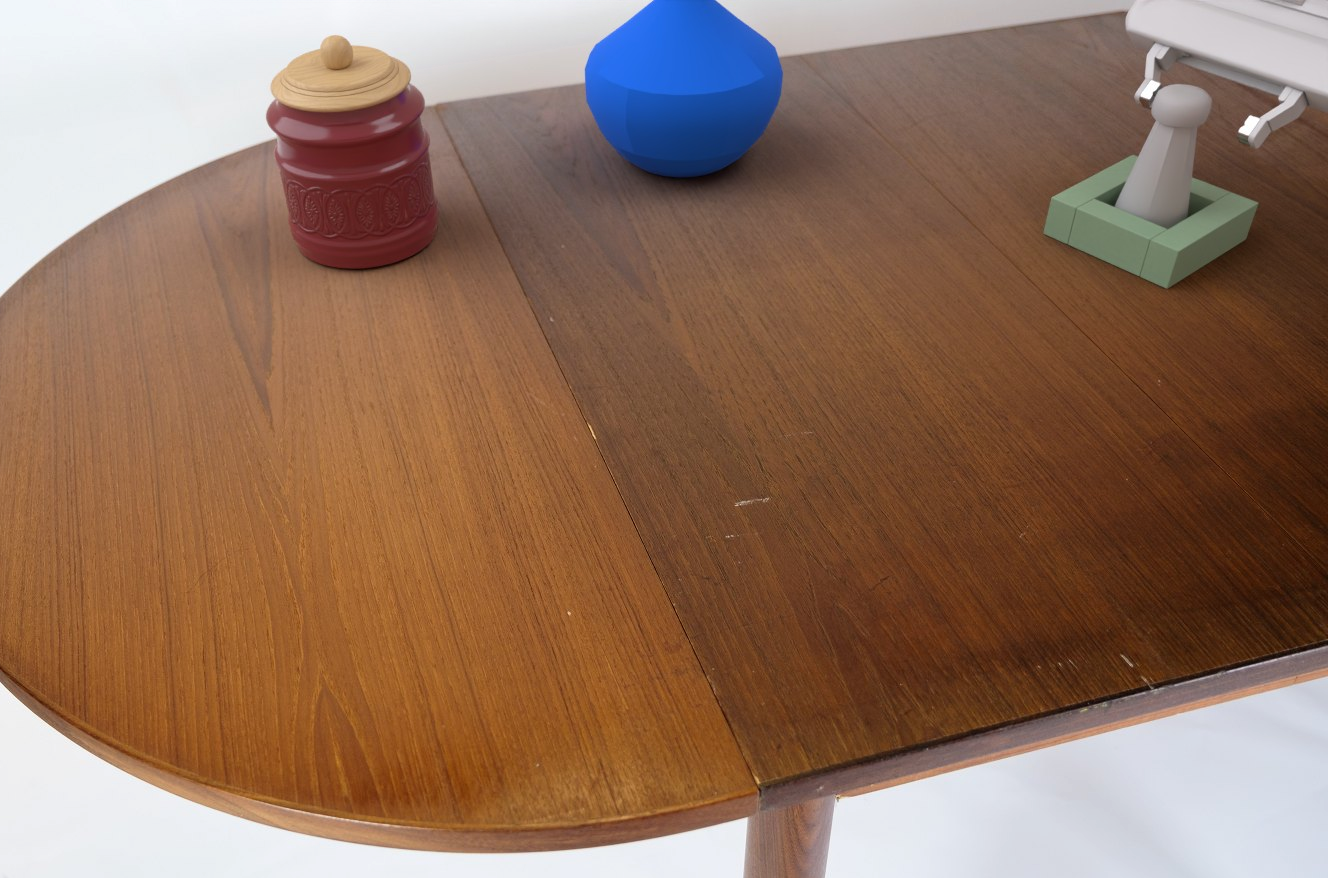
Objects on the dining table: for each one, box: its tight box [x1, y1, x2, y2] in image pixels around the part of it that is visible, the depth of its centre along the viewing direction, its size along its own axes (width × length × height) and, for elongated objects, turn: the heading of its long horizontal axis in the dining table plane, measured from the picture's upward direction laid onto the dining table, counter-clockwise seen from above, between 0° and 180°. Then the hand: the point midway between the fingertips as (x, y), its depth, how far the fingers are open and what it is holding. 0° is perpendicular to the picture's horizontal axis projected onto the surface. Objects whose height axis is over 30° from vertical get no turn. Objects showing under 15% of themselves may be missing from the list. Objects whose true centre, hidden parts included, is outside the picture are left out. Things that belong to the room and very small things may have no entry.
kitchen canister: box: [265, 34, 440, 270], centre depth 104 cm, size 13×13×18 cm
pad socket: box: [1042, 154, 1259, 290], centre depth 105 cm, size 12×12×4 cm
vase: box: [584, 0, 784, 178], centre depth 114 cm, size 18×18×19 cm
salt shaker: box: [1114, 83, 1213, 230], centre depth 102 cm, size 6×6×13 cm
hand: (1193, 123), depth 100 cm, fingers open, 8 cm apart
